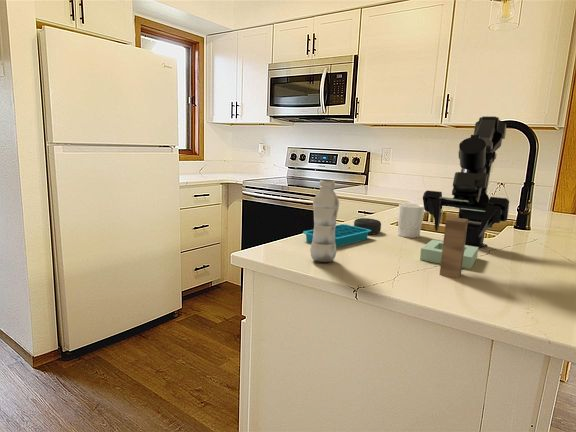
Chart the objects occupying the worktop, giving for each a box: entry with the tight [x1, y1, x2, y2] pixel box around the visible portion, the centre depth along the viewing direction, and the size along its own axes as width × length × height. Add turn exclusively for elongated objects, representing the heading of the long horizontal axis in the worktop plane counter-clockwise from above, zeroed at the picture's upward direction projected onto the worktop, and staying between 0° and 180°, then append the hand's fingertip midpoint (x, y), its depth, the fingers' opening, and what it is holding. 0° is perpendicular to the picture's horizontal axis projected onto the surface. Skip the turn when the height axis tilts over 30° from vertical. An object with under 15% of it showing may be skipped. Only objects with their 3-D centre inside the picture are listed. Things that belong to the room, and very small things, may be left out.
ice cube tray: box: [302, 223, 371, 248], centre depth 119 cm, size 12×20×3 cm, turn 134°
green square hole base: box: [419, 239, 480, 270], centre depth 103 cm, size 12×12×3 cm
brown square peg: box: [439, 216, 468, 279], centre depth 90 cm, size 4×4×13 cm
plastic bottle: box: [309, 179, 340, 263], centre depth 95 cm, size 6×7×20 cm
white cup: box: [397, 203, 425, 239], centre depth 128 cm, size 8×8×10 cm
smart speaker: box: [353, 217, 382, 235], centre depth 131 cm, size 9×9×4 cm
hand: (456, 233), depth 91 cm, fingers open, 9 cm apart
